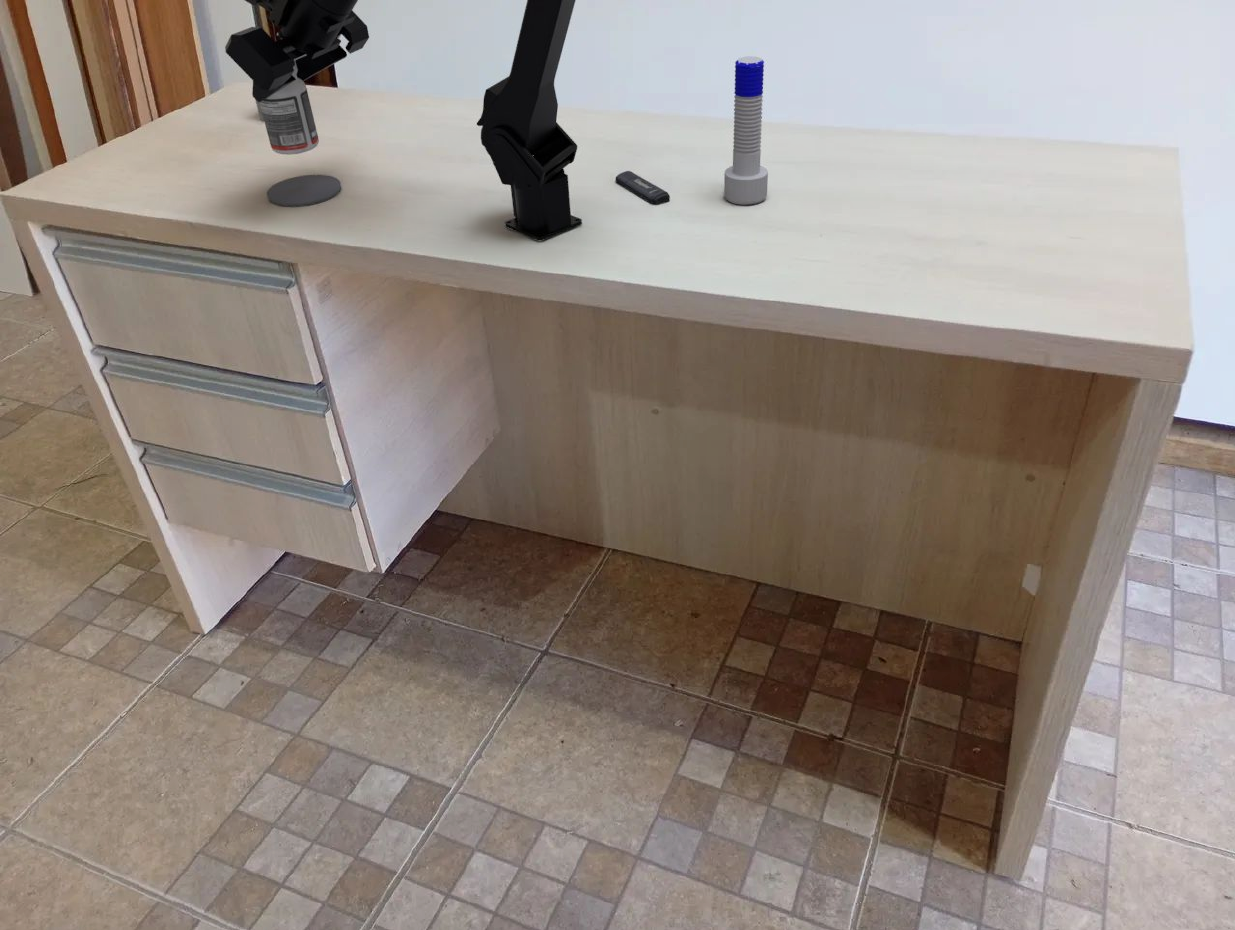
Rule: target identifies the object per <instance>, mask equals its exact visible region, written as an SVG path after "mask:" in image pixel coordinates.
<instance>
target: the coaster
mask: <svg viewBox="0 0 1235 930" xmlns="http://www.w3.org/2000/svg"><path fill="white" fill-rule="evenodd" d="M341 191H342V183H341V181H340V180H339V178H337V177H334V176H332V175H328V174H327V175H326V174H306V175H305V174H304V175H298V176H293V177H290V178H286V179H283V180H280V181H279V182H276V183H275V184H272V185H271V186H270V187H269V188H268V189H267V191H266V195H267V199H268V201H269V202H270V203H271V204H273V205H275V206H279V207H287V208H289V207H290V208H296V207H297V208H299V207H308V206H311V205H312V206H313V205H317V204H320V203H323V202H326V201H328V200H331V199H333V198H334V197H336V196H337V195H339V194H340V192H341Z"/></svg>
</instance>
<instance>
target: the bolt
mask: <svg viewBox="0 0 1235 930" xmlns="http://www.w3.org/2000/svg"><path fill="white" fill-rule="evenodd" d="M734 62H735V63H734V64H735V66H734V68H735V70H734V73H735V74H734V104H733V107H734V109H733V111H734V113H733V115H734V116H733V141H732V142H733V146H732V147H733V149H732V165H731V166H729V167H726V169H725V170H724V177H723V178H724V185H723V187H724V189H723V191H724V192H723V195H724V198H725V199H726V201H728V202H730V203H732V204H735V205H741V206H742V205H744V206H749V205H750V206H751V205H757V204H759V203H761V202H764V200H765V199H766V198H767V196H768V185H769V184H768V182H769V181H768V178H769V170H768V169H767V168H766V167H764V166H762V165H761V156H762V155H761V153H762V150H761V147H762V145H761V144H762V141H761V140H762V122H763V121H762V119H763V116H762V115H763V112H762V111H763V101H764V100H763V97H764V96H763V93H764V90H763V89H764V71H765V70H764V69H765V68H764V67H765V61H764V60H763V58H761V57H758V56H743V57H739V58H738V59H737V60H736V61H734Z"/></svg>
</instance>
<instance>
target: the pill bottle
mask: <svg viewBox="0 0 1235 930" xmlns="http://www.w3.org/2000/svg"><path fill="white" fill-rule="evenodd" d="M294 62H295V61H294ZM293 68H294V72H293V74H292V75H293V76H294V78H295V79H296V80H295V81H294V82H292V83H290V84H289V85H287V86H285V87H284V88H282V89H281V90H279V91H278V92H276V93H274V94H273V95H271V96H270V97H268V98H266V99H265V100H263V101H261V102H259V103H260V107H261V110H262V114H263V118H264V125H265V129H266V132H267V137H268V139H269V140H268V141H269V144H270V147H271V150H272V151H273V152H275V153H277V154H278V155H288V156H289V155H298V154H302V153H307V152H309V151H312V150H313V149H315V148H316V147H317V146H318V145H319V142H320V141H319V140H320V139H319V134H318V132H317V131H318V130H317V127H316V123H315V118H314V114H313V109H312V106H311V105H312V104H311V101H310V98H309V97H310V96H309V93H308V88H307V85H306V83H305V82H304V81H302V80H301V79H299V78H297V75H296V74H297V71H298V69H297V66H296V62H295V66H294V67H293Z"/></svg>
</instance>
